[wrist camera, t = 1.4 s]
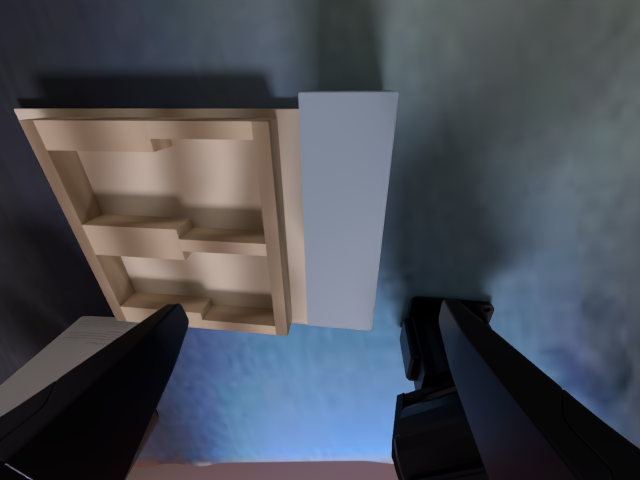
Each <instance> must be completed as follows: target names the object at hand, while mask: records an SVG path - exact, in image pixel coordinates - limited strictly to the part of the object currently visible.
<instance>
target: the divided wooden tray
mask: <svg viewBox="0 0 640 480" xmlns="http://www.w3.org/2000/svg"><path fill="white" fill-rule="evenodd" d="M14 111H15V113H16V115H17V117H18V119H19V122H20V124H21V126H22V128H23V130H24V132H25V134H26V136H27V138H28V140H29V142H30V144H31V147H32V149H33V151H34V153H35V155H36V157H37V159H38V161H39V163H40V165H41V167H42V169H43V171H44V173H45V175H46V177H47V179H48V181H49V183H50V185H51V187H52V189H53V191H54V193H55V195H56V197H57V200H58V202H59V204H60V206H61V208H62V210H63V212H64V214H65V216H66V218H67V220H68V222H69V224H70V226H71V228H72V230H73V232H74V234H75V236H76V238H77V240H78V242H79V244H80V246H81V248H82V250H83V253H84V255H85V257H86V259H87V261H88V263H89V265H90V267H91V269H92V271H93V273H94V275H95V277H96V279H97V281H98V283H99V285H100V287H101V289H102V291H103V293H104V295H105V297H106V299H107V301H108V303H109V306H110V308H111V310H112V312H113V314H114V316H115V318H116V320H117V321H127V322H138V323H140V322H142V321H143V320H145V319H146V318H147V317H149V316H150V315H152V314H153V313H155V312H156V311H158V310H159V309H161V308H162V307H164V306H165V305H167V304H169V303H180V304H181V305H182V306H183V308H184V310H185V313H186V315H187V317H188V319H189V325H188V327H195V328H206V329H217V330H228V331H240V332H251V333H262V334H273V335H285V336H288V333H289V329H290V325H291V323H301V324H307V300H306V275H305V250H304V225H303V200H302V175H301V150H300V125H299V108H21V109H14Z"/></svg>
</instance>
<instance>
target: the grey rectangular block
mask: <svg viewBox="0 0 640 480" xmlns="http://www.w3.org/2000/svg"><path fill="white" fill-rule="evenodd" d="M398 97H399V92H396V91H389V90H384V91H307V92H299V93H298V100H299V125H300V150H301V175H302V200H303V225H304V250H305V275H306V300H307V325H309V326H321V327H333V328H345V329H357V330H369V331H372V323H373V314H374V306H375V297H376V288H377V280H378V271H379V262H380V254H381V245H382V236H383V228H384V219H385V210H386V201H387V193H388V184H389V175H390V167H391V158H392V149H393V141H394V132H395V123H396V114H397V106H398Z"/></svg>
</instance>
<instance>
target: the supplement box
mask: <svg viewBox="0 0 640 480" xmlns="http://www.w3.org/2000/svg"><path fill="white" fill-rule="evenodd" d="M137 324H139V323H138V322H127V321H117V320H116V318H115V317H101V316H82V317H80V318H79V319H78V320H77V321H76V322H74V323H73V324H72V325H71V326H70V327H69V328H68V329H66V330H65V331H64V332H63V333H61V334H60V335H59V336H58V337H57V338H56V339H54V340H53V341H52V342H51V343H50V344H49V345H47V346H46V347H45V348H44V349H43V350H42V351H40V352H39V353H38V354H37V355H36V356H34V357H33V358H32V359H31V360H30V361H29V362H27V363H26V364H25V365H24V366H23V367H22V368H20V369H19V370H18V371H17V372H16V373H14V374H13V375H12V376H11V377H10V378H9V379H7V380H6V381H5V382H4V383H3V384H1V385H0V417H1V416H2V415H4V414H5V413H7V412H9V411H10V410H12V409H13V408H15V407H17V406H18V405H20V404H21V403H23V402H24V401H26V400H27V399H29V398H30V397H32V396H33V395H35V394H36V393H38V392H39V391H41V390H42V389H44V388H45V387H46V386H48V385H49V384H51V383H52V382H54V381H57V379H58V378H60V377H61V376H63V375H64V374H66V373H67V372H68V371H70V370H71V369H73V368H74V367H76V366H77V365H79V364H80V363H82V362H83V361H85V360H86V359H87V358H89V357H90V356H92V355H93V354H95V353H96V352H98V351H99V350H101V349H102V348H104V347H105V346H107V345H108V344H109V343H111V342H112V341H114V340H115V339H117V338H118V337H120V336H121V335H123V334H124V333H126V332H127V331H128V330H130V329H131V328H133V327H134V326H136V325H137Z"/></svg>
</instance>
